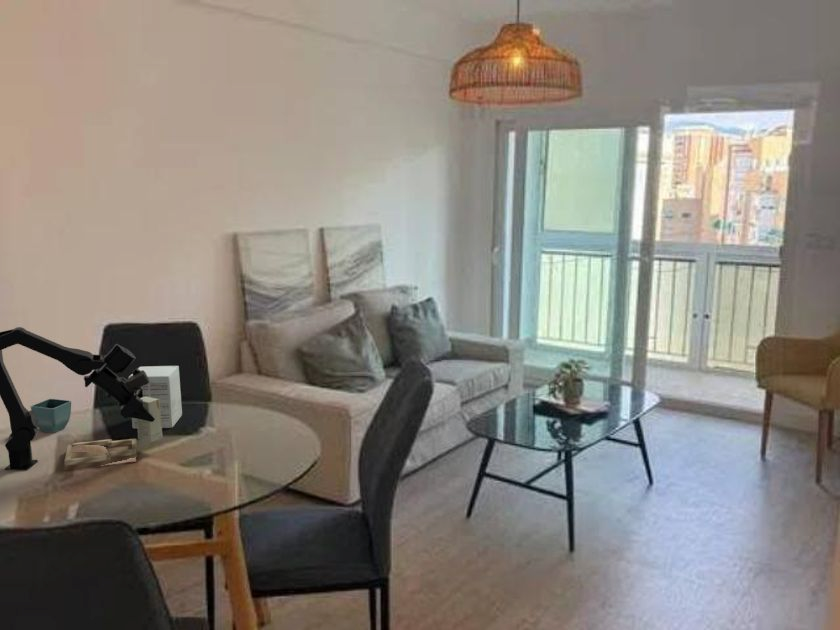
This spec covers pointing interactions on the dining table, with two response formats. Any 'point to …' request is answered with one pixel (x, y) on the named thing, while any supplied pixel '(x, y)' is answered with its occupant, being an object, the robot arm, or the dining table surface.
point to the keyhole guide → (88, 460)
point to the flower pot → (52, 414)
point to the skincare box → (147, 428)
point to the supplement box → (163, 392)
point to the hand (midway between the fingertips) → (153, 416)
